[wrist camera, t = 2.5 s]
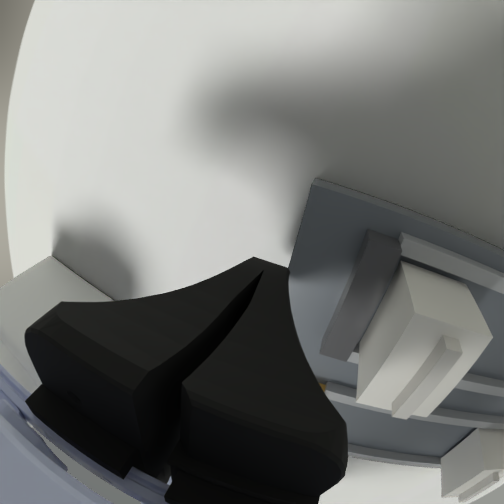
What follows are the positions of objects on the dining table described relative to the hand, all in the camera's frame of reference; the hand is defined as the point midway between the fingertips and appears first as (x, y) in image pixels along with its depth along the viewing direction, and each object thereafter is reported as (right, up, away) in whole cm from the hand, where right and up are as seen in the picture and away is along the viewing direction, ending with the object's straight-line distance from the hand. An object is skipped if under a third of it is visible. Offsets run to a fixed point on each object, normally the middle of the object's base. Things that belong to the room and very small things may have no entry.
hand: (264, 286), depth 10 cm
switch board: (+10, -6, +2) cm, 12 cm away
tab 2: (+14, -11, +2) cm, 18 cm away
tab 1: (+6, -1, 0) cm, 6 cm away
